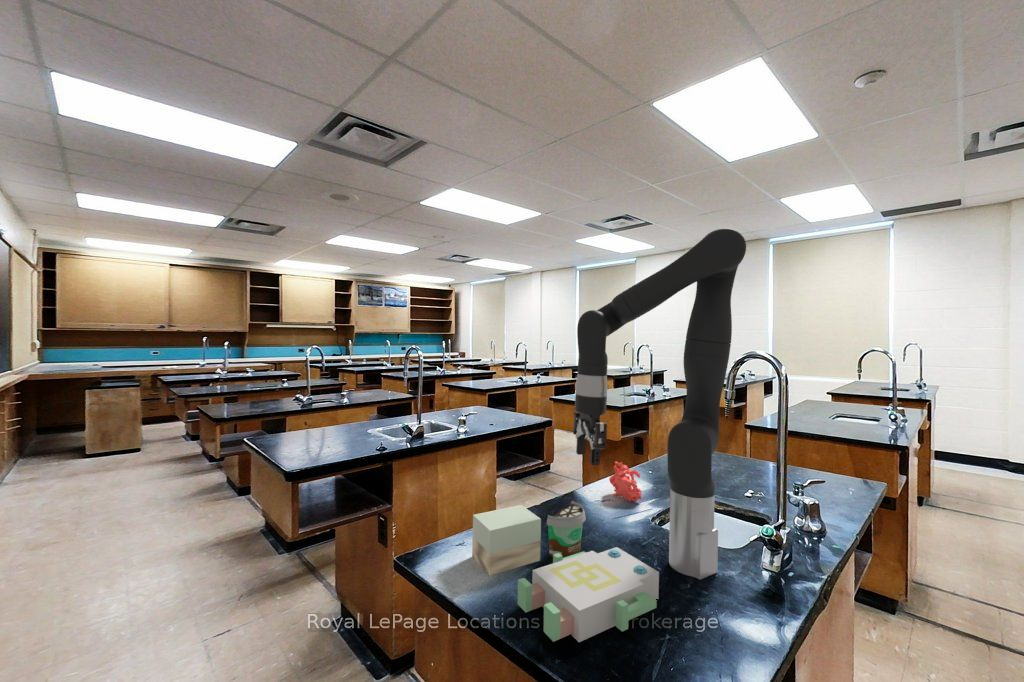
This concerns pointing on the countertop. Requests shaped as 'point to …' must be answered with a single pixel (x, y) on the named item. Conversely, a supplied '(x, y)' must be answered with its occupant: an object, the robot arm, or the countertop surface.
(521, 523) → the tower top block
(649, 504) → the countertop surface
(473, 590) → the countertop surface
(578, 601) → the decorative block
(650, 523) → the countertop surface
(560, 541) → the food container
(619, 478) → the anatomical heart
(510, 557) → the tower base block
